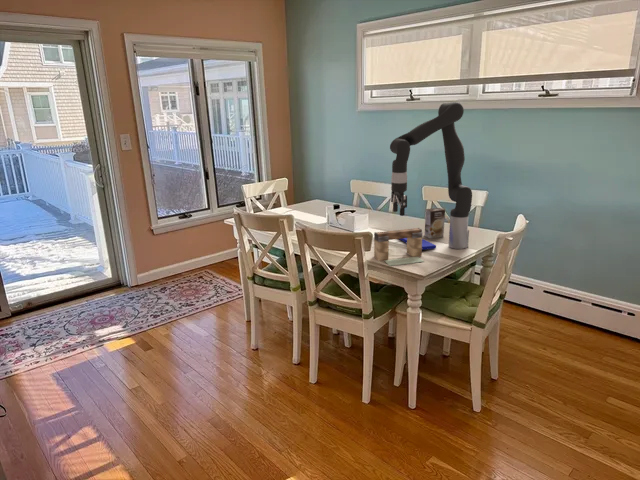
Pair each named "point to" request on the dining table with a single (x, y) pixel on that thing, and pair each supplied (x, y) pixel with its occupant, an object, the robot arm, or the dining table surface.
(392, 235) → the rail
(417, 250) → the post
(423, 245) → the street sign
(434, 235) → the coffee box
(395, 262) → the mat
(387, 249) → the post
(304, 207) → the dining table surface
